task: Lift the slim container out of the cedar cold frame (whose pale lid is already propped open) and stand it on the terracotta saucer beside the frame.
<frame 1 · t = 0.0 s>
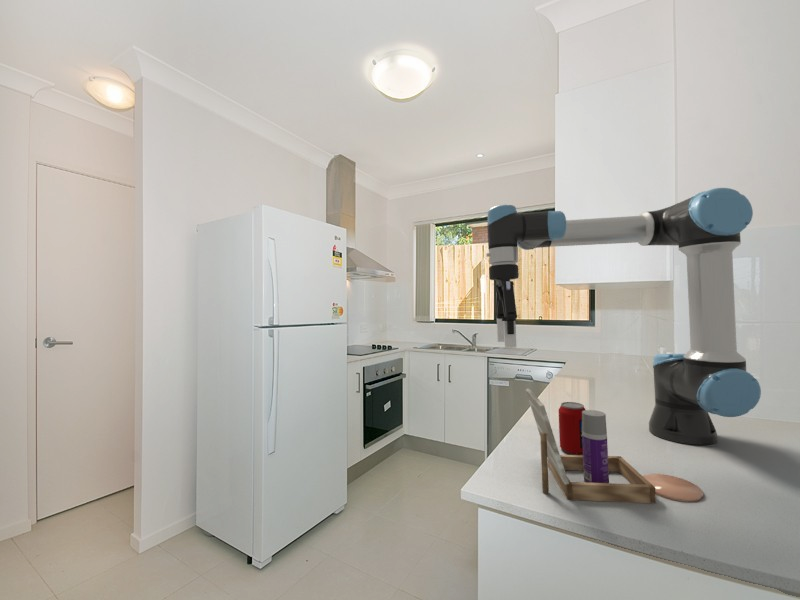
hand: (506, 344, 95), 28 cm above the worktop, fingers open, 13 cm apart
saucer: (671, 488, 73), on the worktop
beverage can: (574, 451, 93), on the worktop
cold frame: (596, 483, 76), on the worktop
container: (596, 484, 76), resting in cold frame
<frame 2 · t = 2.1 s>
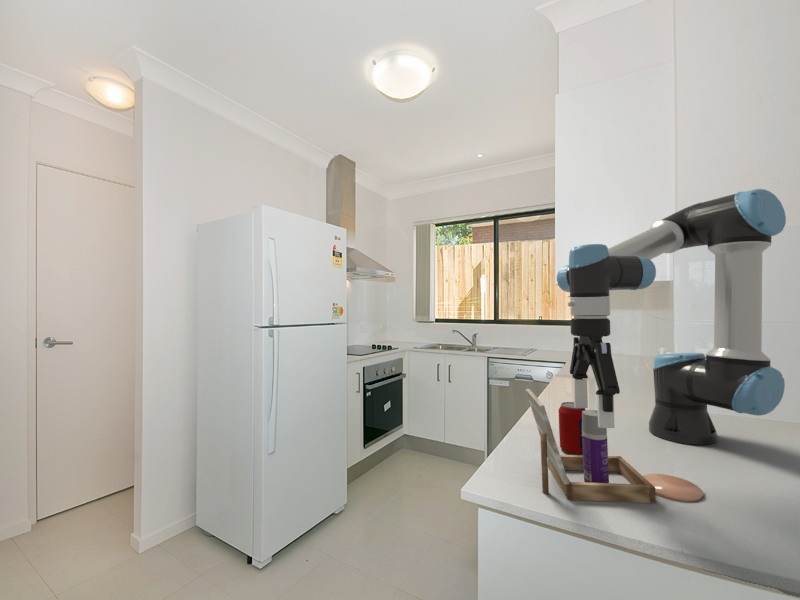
hand: (592, 416, 77), 14 cm above the worktop, fingers open, 13 cm apart
nothing on the worktop moved.
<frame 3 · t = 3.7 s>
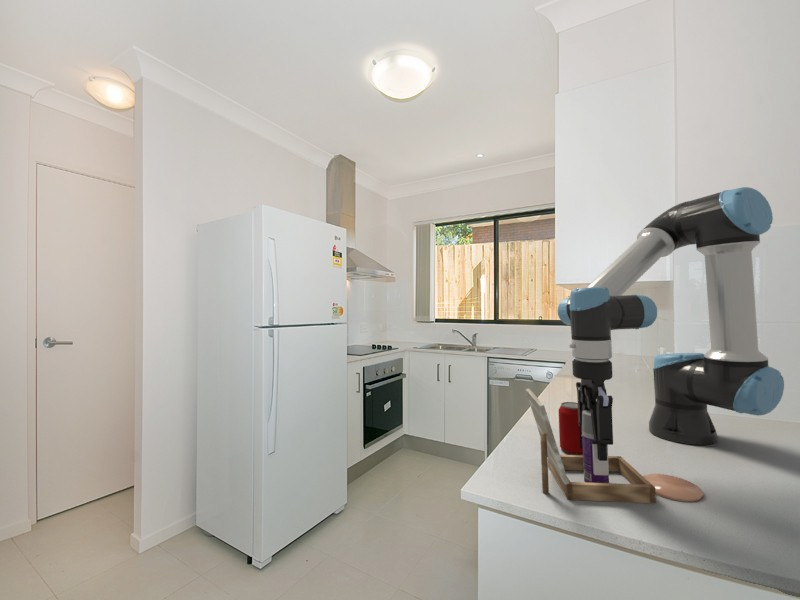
hand: (595, 468, 76), 3 cm above the worktop, fingers closed on container, 5 cm apart
container: (596, 484, 76), resting in cold frame, touching gripper
everything else where it was.
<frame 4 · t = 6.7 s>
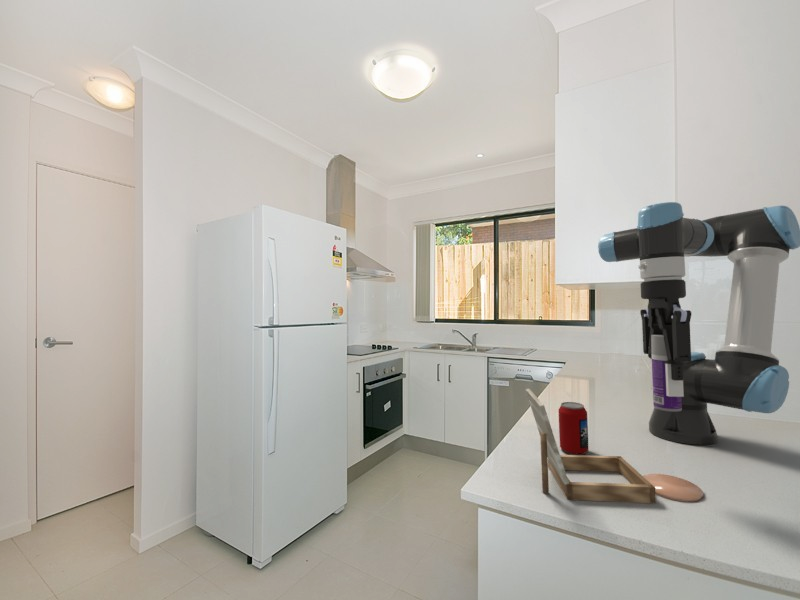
hand: (666, 392, 74), 20 cm above the worktop, fingers closed on container, 5 cm apart
container: (667, 409, 74), point 16 cm above the worktop, touching gripper
everything else where it was.
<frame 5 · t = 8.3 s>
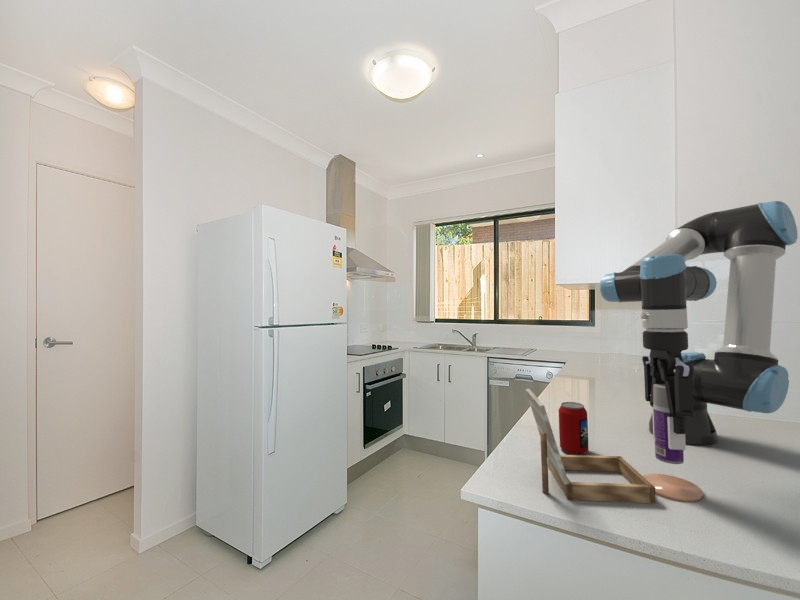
hand: (668, 443, 74), 9 cm above the worktop, fingers closed on container, 5 cm apart
container: (669, 460, 73), point 6 cm above the worktop, touching gripper
everything else where it was.
when the fingers open (5 cm above the worktop, at t = 9.5 s): container stays where it is, resting on saucer.
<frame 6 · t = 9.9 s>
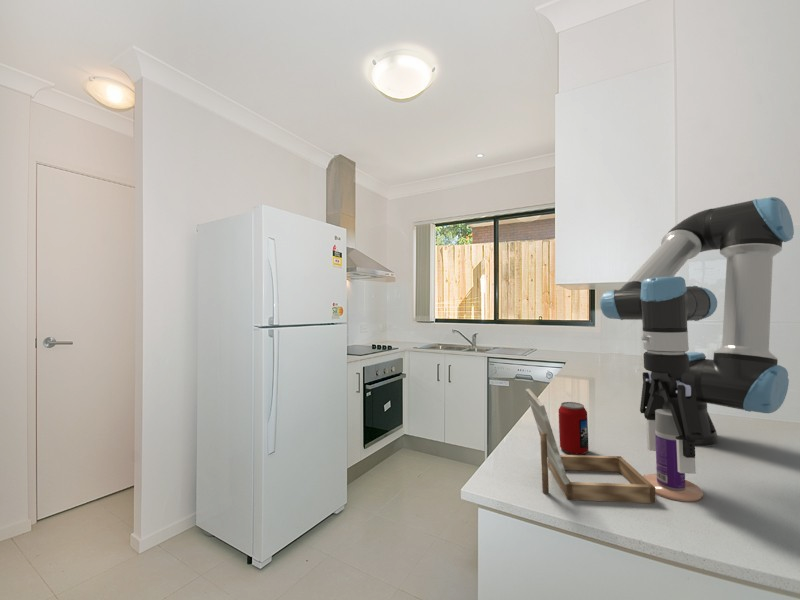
hand: (669, 460, 74), 6 cm above the worktop, fingers open, 10 cm apart
container: (670, 486, 74), resting on saucer
everything else where it was.
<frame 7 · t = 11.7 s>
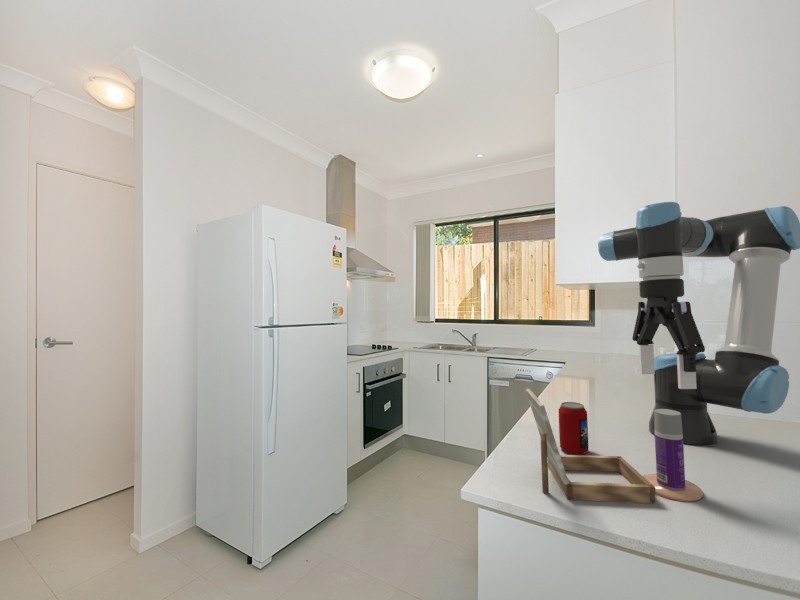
hand: (665, 380, 75), 22 cm above the worktop, fingers open, 13 cm apart
nothing on the worktop moved.
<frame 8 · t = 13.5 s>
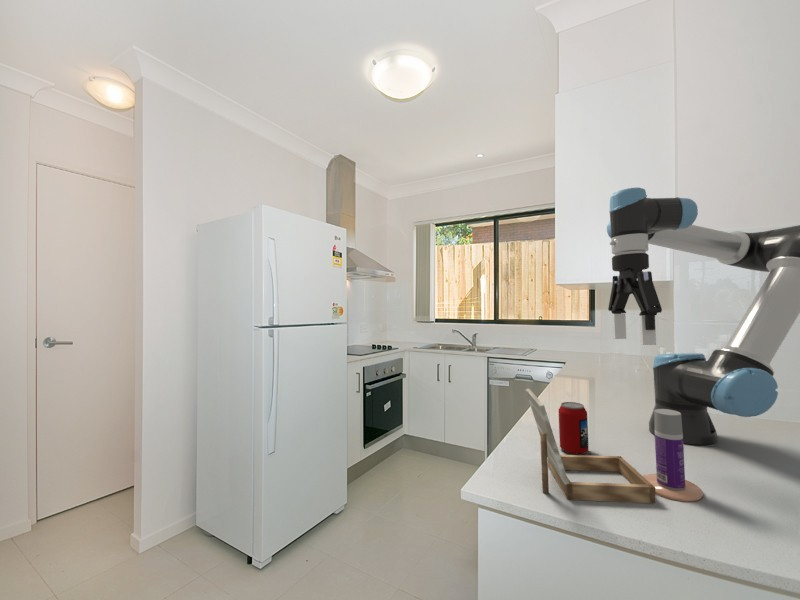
hand: (633, 341, 87), 29 cm above the worktop, fingers open, 13 cm apart
nothing on the worktop moved.
at the end: container 0.0 cm from the saucer (horizontally); container tilted 0°; the gripper is holding nothing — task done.
